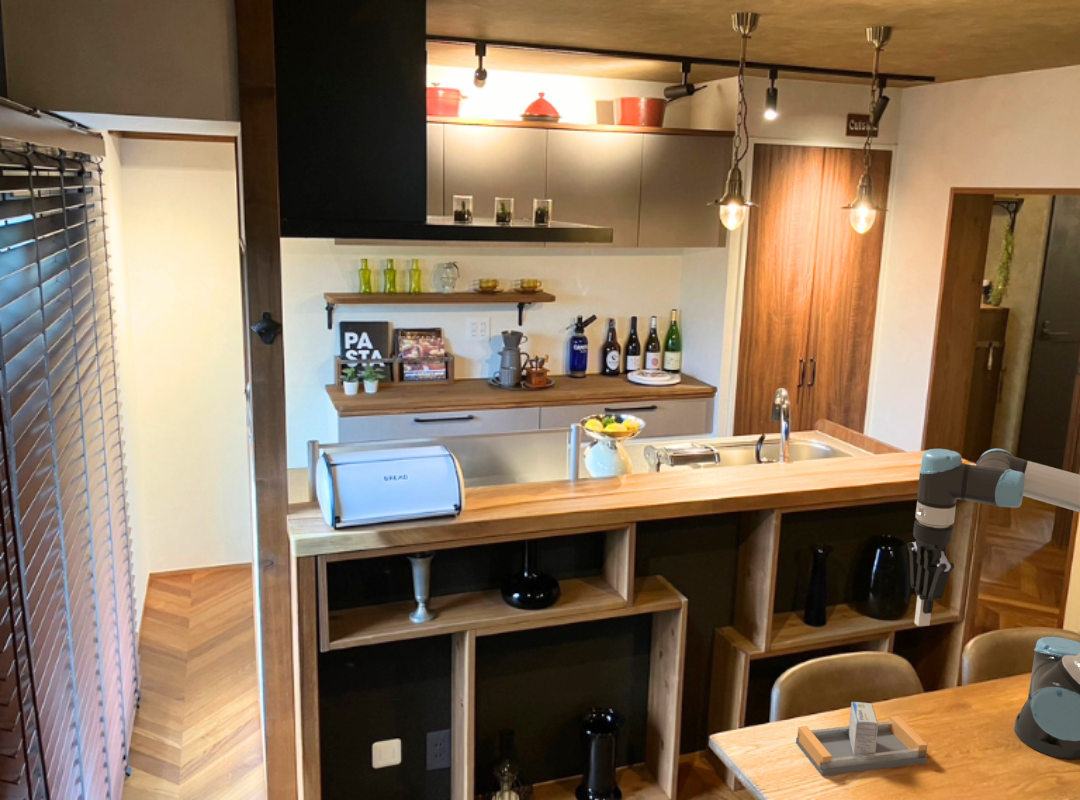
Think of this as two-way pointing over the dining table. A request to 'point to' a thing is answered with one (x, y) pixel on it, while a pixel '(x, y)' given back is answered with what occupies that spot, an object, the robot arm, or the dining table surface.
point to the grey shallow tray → (892, 750)
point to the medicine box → (863, 728)
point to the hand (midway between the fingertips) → (921, 624)
